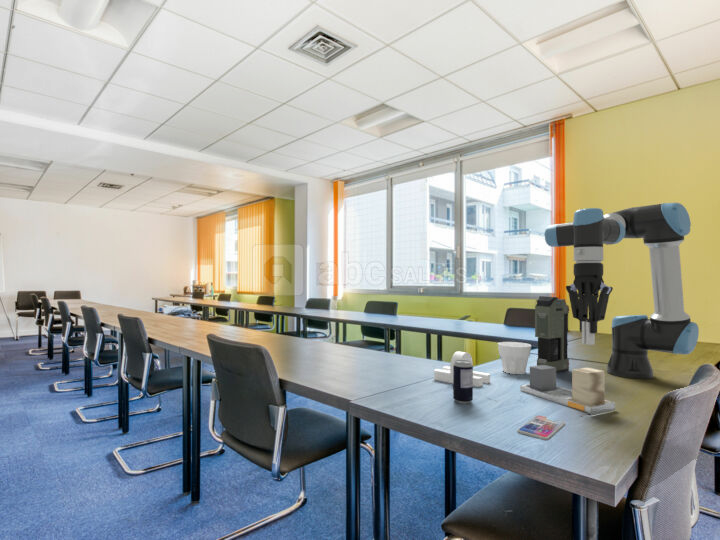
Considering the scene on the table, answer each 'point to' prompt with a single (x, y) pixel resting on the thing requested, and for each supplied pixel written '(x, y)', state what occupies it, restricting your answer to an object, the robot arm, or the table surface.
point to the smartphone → (541, 428)
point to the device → (552, 332)
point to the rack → (569, 399)
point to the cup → (514, 356)
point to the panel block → (588, 386)
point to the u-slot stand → (447, 371)
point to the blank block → (543, 377)
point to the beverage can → (463, 381)
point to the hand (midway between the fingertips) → (588, 344)
